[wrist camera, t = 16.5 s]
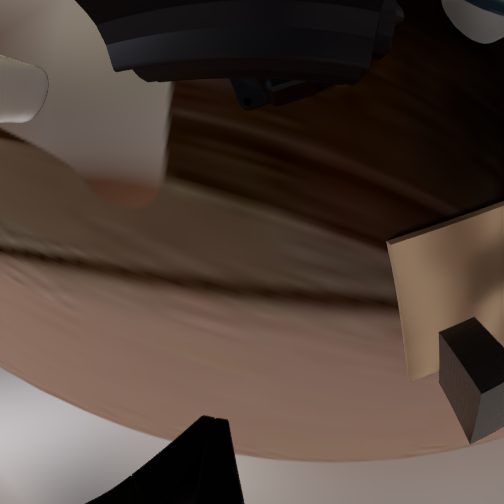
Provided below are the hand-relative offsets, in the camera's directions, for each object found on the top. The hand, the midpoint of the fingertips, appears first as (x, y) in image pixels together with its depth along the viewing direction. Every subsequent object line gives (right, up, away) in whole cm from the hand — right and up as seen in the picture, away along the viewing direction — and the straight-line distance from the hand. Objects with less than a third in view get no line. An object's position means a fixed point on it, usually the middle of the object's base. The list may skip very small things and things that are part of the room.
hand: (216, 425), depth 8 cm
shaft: (+22, +2, +4) cm, 23 cm away
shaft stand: (+23, +4, +9) cm, 25 cm away
